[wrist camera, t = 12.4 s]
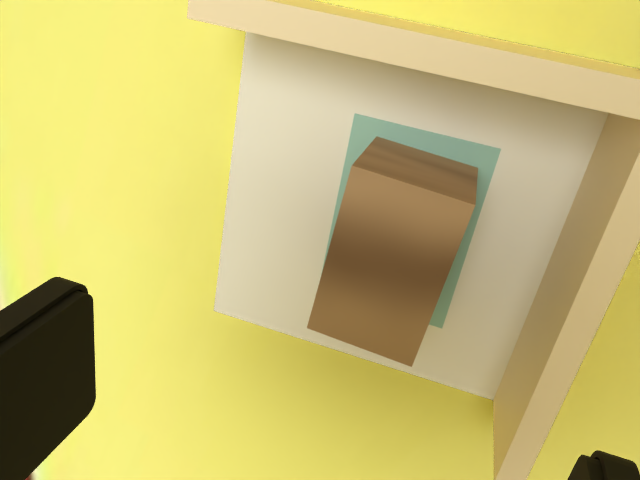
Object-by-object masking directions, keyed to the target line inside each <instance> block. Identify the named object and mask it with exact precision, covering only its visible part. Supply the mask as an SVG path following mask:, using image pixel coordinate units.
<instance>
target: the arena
mask: <svg viewBox="0 0 640 480" xmlns="http://www.w3.org/2000/svg"><path fill="white" fill-rule="evenodd" d="M187 18H188V19H193V20H197V21H201V22H206V23H210V24H215V25H219V26H224V27H228V28H233V29H237V30H242V31H246V36H245V44H244V53H243V62H242V71H241V79H240V88H239V97H238V105H237V114H236V123H235V131H234V140H233V149H232V158H231V166H230V175H229V184H228V192H227V201H226V210H225V218H224V227H223V236H222V244H221V253H220V262H219V271H218V279H217V288H216V297H215V305H214V311H216V312H219V313H222V314H225V315H228V316H231V317H234V318H238V319H241V320H244V321H247V322H250V323H253V324H256V325H259V326H263V327H266V328H269V329H272V330H275V331H278V332H281V333H284V334H288V335H291V336H294V337H297V338H300V339H303V340H306V341H309V342H312V343H316V344H319V345H322V346H325V347H328V348H331V349H334V350H337V351H341V352H344V353H347V354H350V355H353V356H356V357H359V358H362V359H366V360H369V361H372V362H375V363H378V364H381V365H384V366H387V367H391V368H394V369H397V370H400V371H403V372H406V373H409V374H412V375H415V376H419V377H422V378H425V379H428V380H431V381H434V382H437V383H440V384H444V385H447V386H450V387H453V388H456V389H459V390H462V391H465V392H469V393H472V394H475V395H478V396H481V397H484V398H487V399H490V400H493V437H494V480H527V478H528V476H529V473H530V471H531V469H532V467H533V465H534V463H535V461H536V459H537V457H538V454H539V452H540V450H541V448H542V446H543V444H544V442H545V440H546V438H547V435H548V433H549V431H550V429H551V427H552V425H553V423H554V421H555V419H556V416H557V414H558V412H559V410H560V408H561V406H562V404H563V402H564V400H565V397H566V395H567V393H568V391H569V389H570V387H571V385H572V383H573V381H574V378H575V376H576V374H577V372H578V370H579V368H580V366H581V364H582V362H583V359H584V357H585V355H586V353H587V351H588V349H589V347H590V345H591V343H592V340H593V338H594V336H595V334H596V332H597V330H598V328H599V326H600V324H601V321H602V319H603V317H604V315H605V313H606V311H607V309H608V307H609V305H610V302H611V300H612V298H613V296H614V294H615V292H616V290H617V288H618V286H619V283H620V281H621V279H622V277H623V275H624V273H625V271H626V269H627V267H628V264H629V262H630V260H631V258H632V256H633V254H634V252H635V250H636V248H637V245H638V243H639V241H640V69H638V68H633V67H629V66H624V65H619V64H614V63H610V62H605V61H600V60H595V59H590V58H586V57H581V56H576V55H571V54H567V53H562V52H557V51H552V50H547V49H543V48H538V47H533V46H528V45H524V44H519V43H514V42H509V41H504V40H500V39H495V38H490V37H485V36H480V35H476V34H471V33H466V32H461V31H457V30H452V29H447V28H442V27H437V26H433V25H428V24H423V23H418V22H414V21H409V20H404V19H399V18H394V17H390V16H385V15H380V14H375V13H371V12H366V11H361V10H356V9H351V8H347V7H342V6H337V5H332V4H328V3H323V2H318V1H313V0H188V14H187ZM376 136H378V137H381V138H384V139H387V140H390V141H394V142H397V143H400V144H403V145H407V146H410V147H413V148H416V149H419V150H423V151H426V152H429V153H432V154H435V155H439V156H442V157H445V158H448V159H451V160H455V161H458V162H461V163H464V164H468V165H471V166H474V167H477V168H478V177H477V191H476V205H475V208H474V210H473V213H472V216H471V218H470V221H469V223H468V226H467V228H466V231H465V233H464V236H463V238H462V241H461V243H460V246H459V249H458V251H457V254H456V256H455V259H454V261H453V264H452V266H451V269H450V271H449V274H448V277H447V279H446V282H445V284H444V287H443V289H442V292H441V294H440V297H439V299H438V302H437V304H436V307H435V310H434V312H433V315H432V317H431V320H430V322H429V325H428V327H427V330H426V332H425V335H424V337H423V340H422V343H421V345H420V348H419V350H418V353H417V355H416V358H415V360H414V363H413V365H412V367H410V366H407V365H405V364H402V363H399V362H397V361H394V360H391V359H389V358H386V357H383V356H380V355H378V354H375V353H372V352H370V351H367V350H364V349H362V348H359V347H356V346H354V345H351V344H348V343H345V342H343V341H340V340H337V339H335V338H332V337H329V336H327V335H324V334H321V333H319V332H316V331H313V330H310V329H308V328H307V325H308V322H309V318H310V314H311V311H312V307H313V304H314V300H315V296H316V293H317V289H318V285H319V282H320V278H321V275H322V271H323V267H324V264H325V260H326V256H327V253H328V249H329V246H330V242H331V238H332V235H333V231H334V228H335V224H336V220H337V217H338V213H339V209H340V206H341V202H342V199H343V195H344V191H345V188H346V184H347V181H348V177H349V173H350V170H351V166H352V164H353V163H354V162H355V161H356V160H357V159H358V157H359V156H360V155H361V154H362V153H363V152H364V150H365V149H366V148H367V147H368V146H369V145H370V143H371V142H372V141H373V140H374V139H375V138H376Z"/></svg>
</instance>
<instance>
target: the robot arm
mask: <svg viewBox="0 0 640 480" xmlns="http://www.w3.org/2000/svg"><path fill="white" fill-rule="evenodd" d="M95 399H96V388H95V351H94V315H93V298H92V296H91V295H89V294H88V290H87V288H86V287H85V286H84V285H82V284H79V283H76V282H73V281H70V280H67V279H64V278H61V277H54V278H52V279H50V280H48V281H47V282H45V283H43V284H42V285H40V286H39V287H37V288H36V289H34V290H32V291H31V292H29V293H28V294H26V295H25V296H23V297H21V298H20V299H18V300H17V301H15V302H13V303H12V304H10V305H9V306H7V307H6V308H4V309H2V310H1V311H0V480H25V479H26V478H27V477H28V476H29V475H30V474H31V473H32V472H33V471H34V470H35V469H36V468H37V467H38V466H39V465H40V464H41V463H42V462H43V461H44V460H45V459H46V458H47V456H48V455H49V454H50V453H51V452H52V451H53V450H54V449H55V448H56V447H57V446H58V445H59V444H60V443H61V442H62V441H63V440H64V439H65V438H66V437H67V436H68V435H69V434H70V433H71V432H72V431H73V430H74V429H75V428H76V427H77V426H78V425H79V424H80V423H81V422H82V421H83V420H84V419H85V418H86V417H87V415H88V414H89V413H90V411H91V410H92V408H93V406H94V403H95ZM568 480H640V474H639V471H638V468H637V466H636V464H635V463H634V462H633V461H630V460H627V459H624V458H621V457H617V456H614V455H611V454H608V453H605V452H602V451H595V452H594V453H593V454H592V455H591V457H588V456H585V455H581V456H580V457H579V458H578V460H577V462H576V464H575V466H574V468H573V470H572V472H571V474H570V476H569V478H568Z"/></svg>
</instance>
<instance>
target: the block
mask: <svg viewBox="0 0 640 480" xmlns="http://www.w3.org/2000/svg"><path fill="white" fill-rule="evenodd" d="M477 177H478V168H477V167H474V166H471V165H468V164H464V163H461V162H458V161H455V160H451V159H448V158H445V157H442V156H439V155H435V154H432V153H429V152H426V151H423V150H419V149H416V148H413V147H410V146H407V145H403V144H400V143H397V142H394V141H390V140H387V139H384V138H381V137H378V136H376V138H375V139H374V140H373V141H372V142H371V143H370V145H369V146H368V147H367V148H366V149H365V150H364V152H363V153H362V154H361V155H360V156H359V157H358V159H357V160H356V161H355V162H354V163H353V164H352V166H351V170H350V173H349V177H348V181H347V184H346V188H345V191H344V195H343V199H342V202H341V206H340V209H339V213H338V217H337V220H336V224H335V228H334V231H333V235H332V238H331V242H330V246H329V249H328V253H327V256H326V260H325V264H324V267H323V271H322V275H321V278H320V282H319V285H318V289H317V293H316V296H315V300H314V304H313V307H312V311H311V314H310V318H309V322H308V325H307V328H308V329H310V330H313V331H316V332H319V333H321V334H324V335H327V336H329V337H332V338H335V339H337V340H340V341H343V342H345V343H348V344H351V345H354V346H356V347H359V348H362V349H364V350H367V351H370V352H372V353H375V354H378V355H380V356H383V357H386V358H389V359H391V360H394V361H397V362H399V363H402V364H405V365H407V366H410V367H412V365H413V363H414V360H415V358H416V355H417V353H418V350H419V348H420V345H421V343H422V340H423V337H424V335H425V332H426V330H427V327H428V325H429V322H430V320H431V317H432V315H433V312H434V310H435V307H436V304H437V302H438V299H439V297H440V294H441V292H442V289H443V287H444V284H445V282H446V279H447V277H448V274H449V271H450V269H451V266H452V264H453V261H454V259H455V256H456V254H457V251H458V249H459V246H460V243H461V241H462V238H463V236H464V233H465V231H466V228H467V226H468V223H469V221H470V218H471V216H472V213H473V210H474V208H475V205H476V191H477Z"/></svg>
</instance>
